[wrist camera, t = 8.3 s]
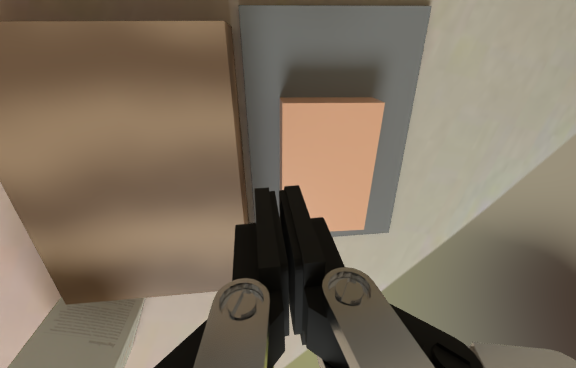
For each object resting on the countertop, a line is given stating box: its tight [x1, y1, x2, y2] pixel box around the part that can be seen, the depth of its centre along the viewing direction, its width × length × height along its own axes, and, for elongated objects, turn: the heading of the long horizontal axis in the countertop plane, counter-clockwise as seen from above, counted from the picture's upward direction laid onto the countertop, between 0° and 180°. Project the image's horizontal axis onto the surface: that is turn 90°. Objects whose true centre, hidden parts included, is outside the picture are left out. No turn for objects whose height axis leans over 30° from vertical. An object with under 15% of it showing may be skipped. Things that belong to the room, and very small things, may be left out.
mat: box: [239, 5, 431, 237], centre depth 19 cm, size 16×11×1 cm
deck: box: [0, 21, 249, 305], centre depth 17 cm, size 16×12×4 cm
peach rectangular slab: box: [280, 97, 385, 231], centre depth 19 cm, size 9×6×2 cm, turn 179°
